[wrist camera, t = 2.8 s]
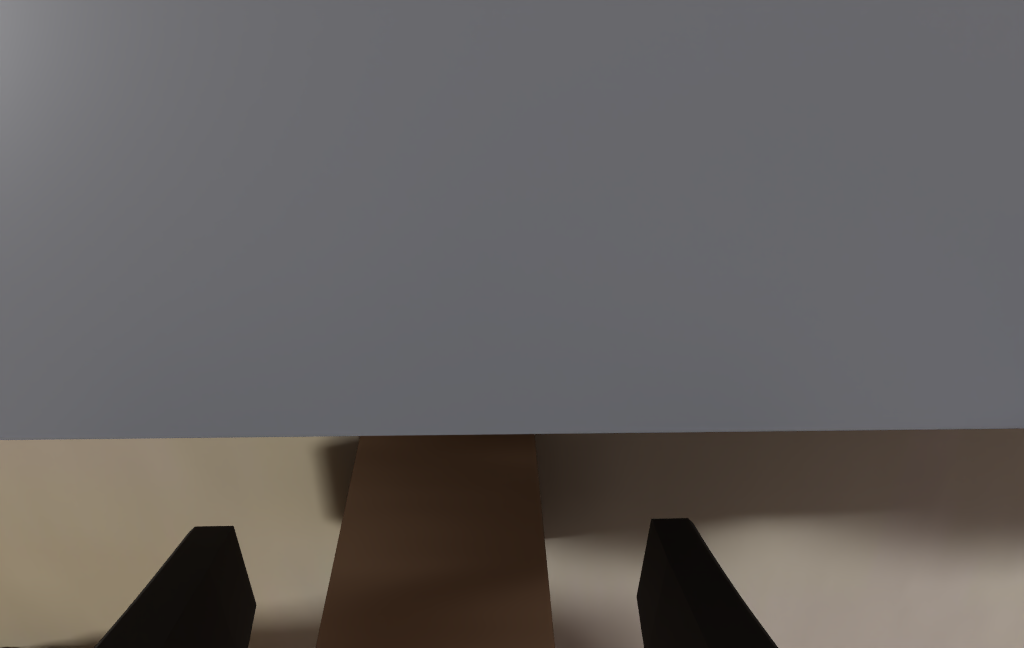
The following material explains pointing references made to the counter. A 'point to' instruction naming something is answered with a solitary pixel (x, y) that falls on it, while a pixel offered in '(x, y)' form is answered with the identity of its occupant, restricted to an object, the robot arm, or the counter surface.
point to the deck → (509, 217)
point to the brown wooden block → (441, 547)
